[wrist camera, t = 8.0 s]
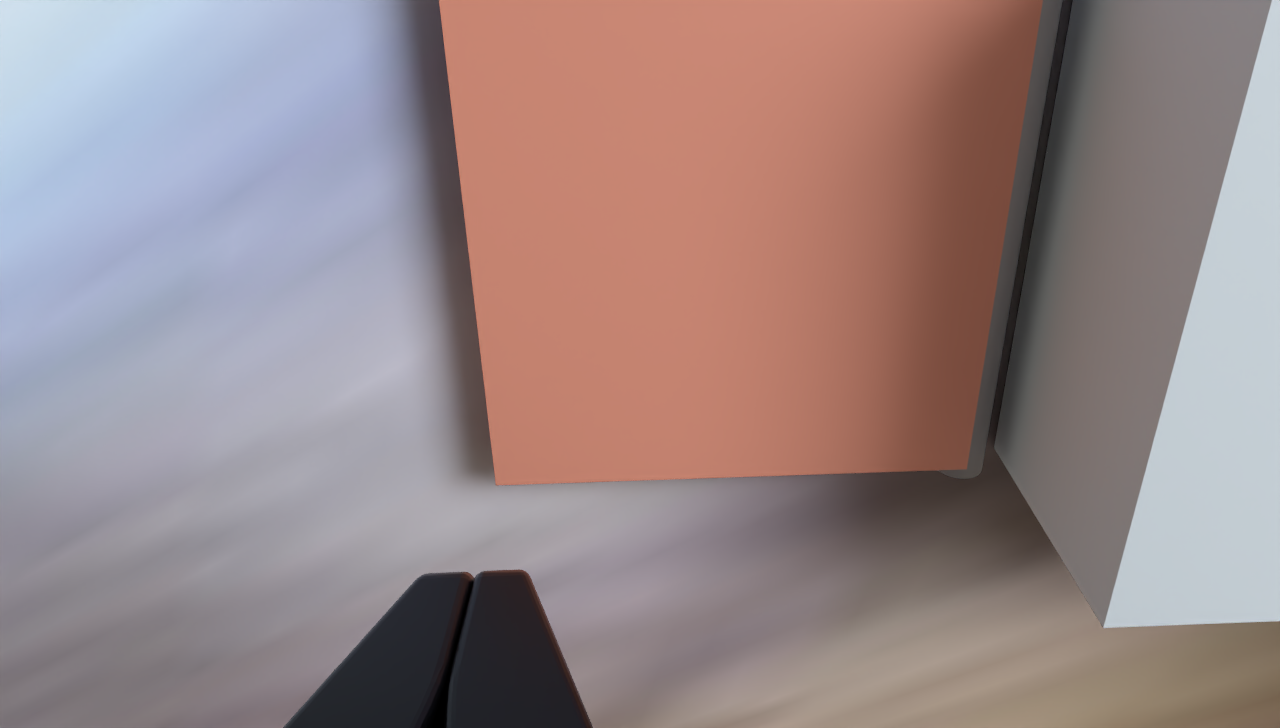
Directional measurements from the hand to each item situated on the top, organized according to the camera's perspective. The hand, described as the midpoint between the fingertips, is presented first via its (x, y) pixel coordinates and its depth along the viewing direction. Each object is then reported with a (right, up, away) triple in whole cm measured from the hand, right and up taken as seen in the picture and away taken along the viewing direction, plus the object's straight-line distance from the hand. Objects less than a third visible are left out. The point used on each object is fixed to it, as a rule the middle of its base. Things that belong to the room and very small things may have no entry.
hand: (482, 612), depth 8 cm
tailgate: (+7, +4, +7) cm, 11 cm away
